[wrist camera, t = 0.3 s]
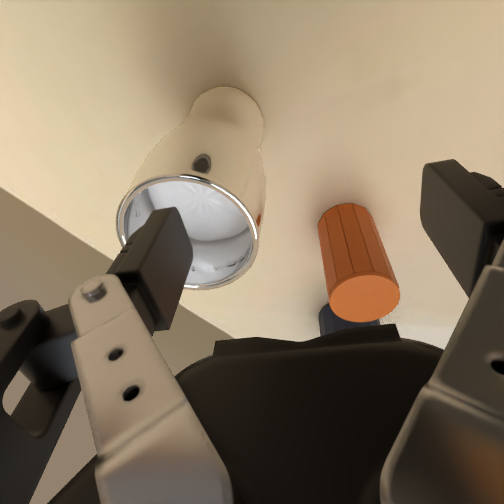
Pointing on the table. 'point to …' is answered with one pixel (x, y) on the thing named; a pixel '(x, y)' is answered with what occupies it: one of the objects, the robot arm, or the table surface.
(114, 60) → the table surface
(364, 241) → the grooved orange cylinder
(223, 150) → the silver metal tumbler
